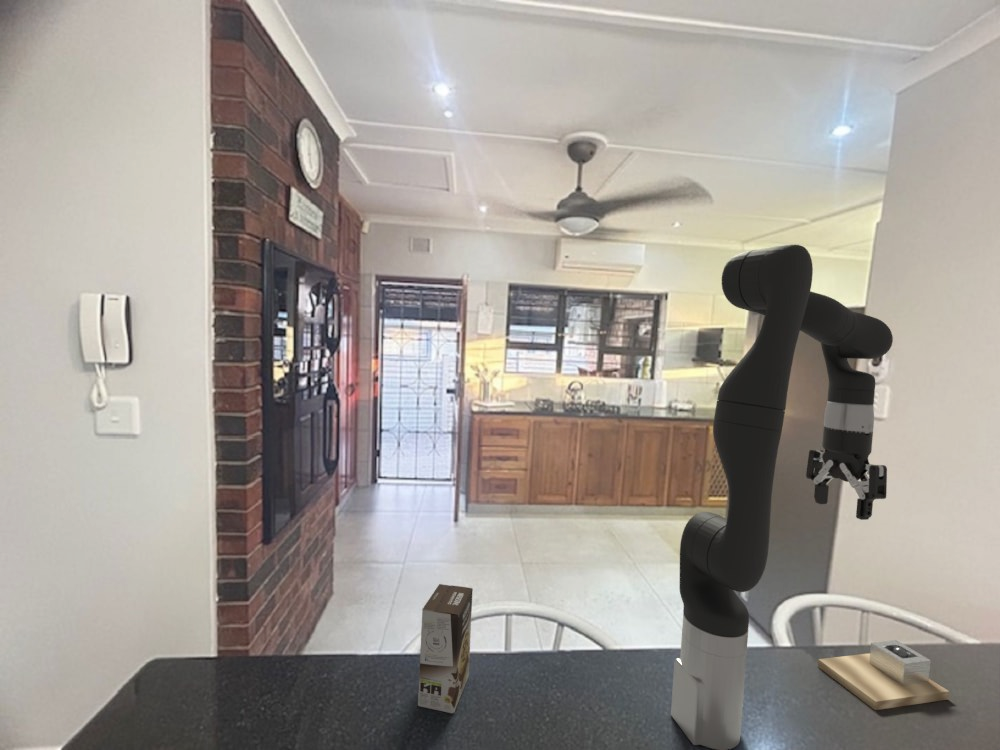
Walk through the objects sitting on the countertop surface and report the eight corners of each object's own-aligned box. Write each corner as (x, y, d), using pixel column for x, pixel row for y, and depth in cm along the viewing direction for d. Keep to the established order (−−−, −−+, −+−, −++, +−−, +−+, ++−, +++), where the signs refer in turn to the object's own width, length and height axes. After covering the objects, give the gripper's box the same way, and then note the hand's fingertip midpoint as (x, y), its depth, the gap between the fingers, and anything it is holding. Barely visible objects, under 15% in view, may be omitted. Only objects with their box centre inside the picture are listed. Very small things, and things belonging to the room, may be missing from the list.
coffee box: (455, 715, 73) (459, 615, 73) (416, 707, 75) (420, 609, 74) (470, 676, 82) (474, 587, 82) (435, 669, 84) (439, 581, 83)
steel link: (902, 685, 83) (904, 663, 83) (869, 663, 89) (871, 642, 89) (928, 681, 84) (930, 660, 84) (894, 660, 90) (896, 640, 90)
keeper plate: (875, 710, 79) (878, 675, 78) (817, 666, 89) (820, 635, 89) (948, 699, 82) (951, 665, 82) (884, 658, 93) (887, 629, 92)
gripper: (799, 420, 94) (793, 499, 95) (868, 433, 81) (861, 525, 81) (830, 421, 96) (824, 498, 97) (903, 433, 82) (895, 524, 83)
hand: (841, 510), depth 89 cm, fingers open, 8 cm apart
